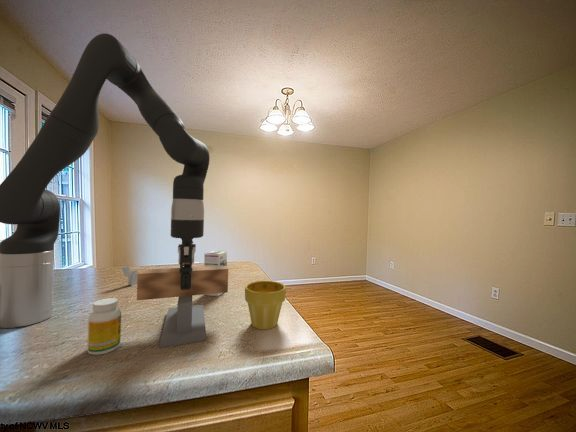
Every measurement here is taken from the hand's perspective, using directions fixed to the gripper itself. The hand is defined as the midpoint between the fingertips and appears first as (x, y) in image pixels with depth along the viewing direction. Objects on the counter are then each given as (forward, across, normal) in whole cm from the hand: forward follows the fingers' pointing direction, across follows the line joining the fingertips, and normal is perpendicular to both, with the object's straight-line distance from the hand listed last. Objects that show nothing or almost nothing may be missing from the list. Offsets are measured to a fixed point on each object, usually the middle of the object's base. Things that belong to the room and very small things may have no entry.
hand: (186, 284), depth 60 cm
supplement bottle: (+10, -6, +15) cm, 19 cm away
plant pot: (+10, -5, -19) cm, 22 cm away
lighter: (+10, +41, +20) cm, 47 cm away
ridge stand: (+10, 0, 0) cm, 10 cm away
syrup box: (+10, +23, -9) cm, 27 cm away
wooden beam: (+2, 0, 0) cm, 2 cm away
